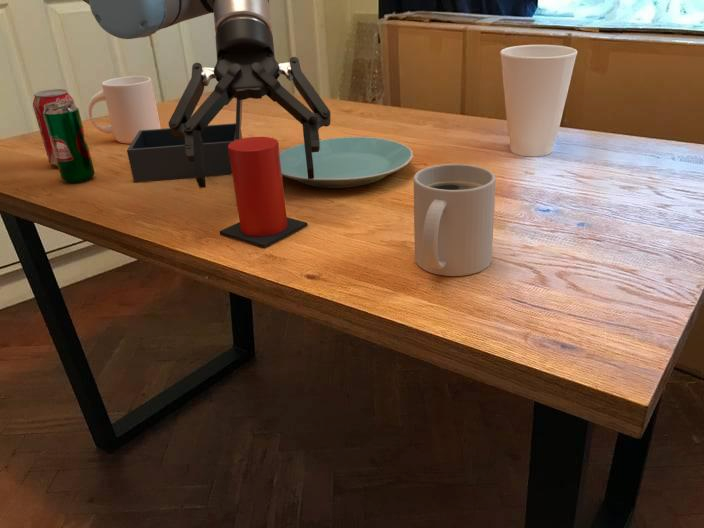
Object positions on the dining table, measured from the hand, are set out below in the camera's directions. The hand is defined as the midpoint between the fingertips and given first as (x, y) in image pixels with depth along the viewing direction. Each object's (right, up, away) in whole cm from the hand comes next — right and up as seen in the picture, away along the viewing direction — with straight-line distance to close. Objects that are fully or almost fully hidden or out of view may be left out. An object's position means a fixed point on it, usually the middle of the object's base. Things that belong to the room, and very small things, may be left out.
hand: (256, 178), depth 82 cm
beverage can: (-38, +8, +32) cm, 50 cm away
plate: (+10, +4, +22) cm, 25 cm away
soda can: (-33, +4, +24) cm, 41 cm away
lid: (-7, +20, +22) cm, 30 cm away
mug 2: (+23, -11, -7) cm, 27 cm away
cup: (+41, +9, +29) cm, 51 cm away
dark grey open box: (-16, +7, +28) cm, 33 cm away
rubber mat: (0, -6, +3) cm, 7 cm away
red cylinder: (0, -6, +3) cm, 6 cm away
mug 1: (-33, +15, +44) cm, 56 cm away
